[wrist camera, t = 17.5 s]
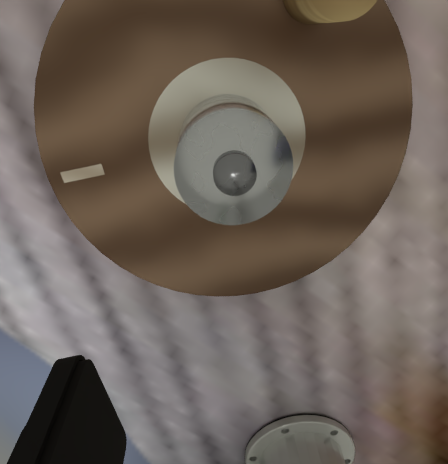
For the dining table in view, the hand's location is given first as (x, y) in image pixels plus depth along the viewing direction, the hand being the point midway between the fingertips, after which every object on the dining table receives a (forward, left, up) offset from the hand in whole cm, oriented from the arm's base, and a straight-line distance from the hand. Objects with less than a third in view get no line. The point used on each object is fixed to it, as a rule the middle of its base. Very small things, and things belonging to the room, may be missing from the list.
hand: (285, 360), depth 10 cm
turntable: (0, 0, -23) cm, 23 cm away
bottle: (0, 0, -21) cm, 21 cm away
